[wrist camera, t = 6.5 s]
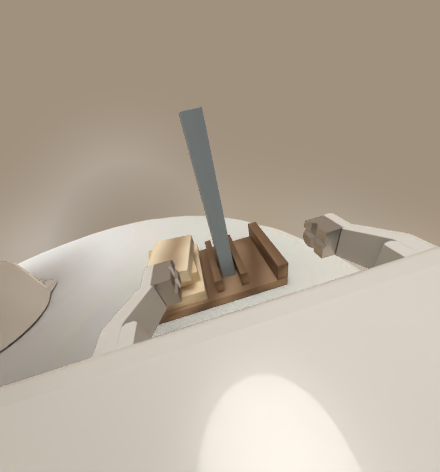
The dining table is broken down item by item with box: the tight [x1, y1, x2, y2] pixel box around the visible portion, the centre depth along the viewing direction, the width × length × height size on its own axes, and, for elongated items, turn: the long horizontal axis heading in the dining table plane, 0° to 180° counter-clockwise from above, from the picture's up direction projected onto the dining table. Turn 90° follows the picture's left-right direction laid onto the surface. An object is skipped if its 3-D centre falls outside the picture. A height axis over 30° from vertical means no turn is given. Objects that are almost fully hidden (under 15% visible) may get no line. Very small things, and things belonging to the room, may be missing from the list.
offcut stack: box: [147, 235, 208, 312], centre depth 28 cm, size 8×11×6 cm
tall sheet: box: [179, 107, 235, 278], centre depth 24 cm, size 2×5×22 cm, turn 13°
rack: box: [159, 222, 288, 324], centre depth 29 cm, size 22×12×4 cm, turn 103°
